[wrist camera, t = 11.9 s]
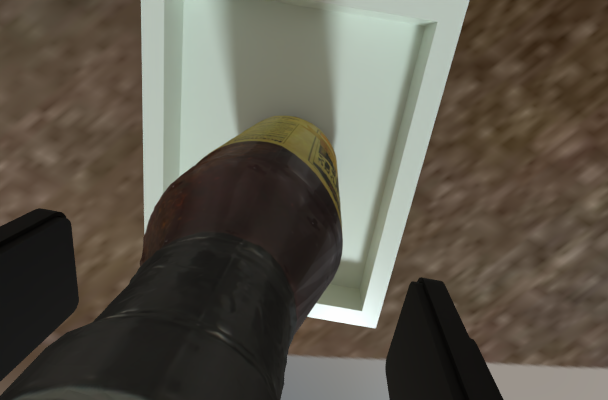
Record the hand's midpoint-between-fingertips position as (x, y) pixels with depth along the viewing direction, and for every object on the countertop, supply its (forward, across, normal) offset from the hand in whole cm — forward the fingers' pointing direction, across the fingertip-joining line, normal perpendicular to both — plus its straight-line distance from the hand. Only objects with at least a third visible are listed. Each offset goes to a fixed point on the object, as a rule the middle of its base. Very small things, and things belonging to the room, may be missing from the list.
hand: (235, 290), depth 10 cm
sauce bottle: (+14, 0, 0) cm, 15 cm away
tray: (+15, +1, 0) cm, 15 cm away
